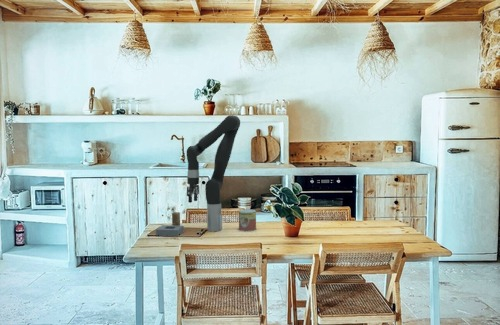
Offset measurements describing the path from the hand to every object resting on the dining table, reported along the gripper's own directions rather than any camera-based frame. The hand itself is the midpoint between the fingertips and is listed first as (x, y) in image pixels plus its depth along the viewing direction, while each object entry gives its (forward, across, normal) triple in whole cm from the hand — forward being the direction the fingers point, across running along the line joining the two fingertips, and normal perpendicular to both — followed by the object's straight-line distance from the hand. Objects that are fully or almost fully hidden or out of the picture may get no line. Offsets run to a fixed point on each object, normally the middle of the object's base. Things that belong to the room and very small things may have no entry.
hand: (192, 201), depth 287 cm
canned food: (+17, +10, -34) cm, 40 cm away
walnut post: (+18, -2, +10) cm, 21 cm away
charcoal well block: (+19, -14, +9) cm, 25 cm away
